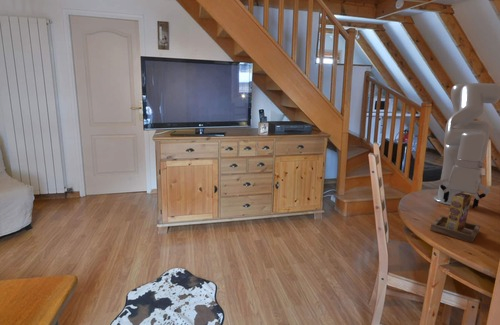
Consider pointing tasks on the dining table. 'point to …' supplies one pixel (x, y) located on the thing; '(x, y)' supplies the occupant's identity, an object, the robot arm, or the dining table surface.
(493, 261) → the dining table surface
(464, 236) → the tray
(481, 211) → the dining table surface
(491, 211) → the dining table surface
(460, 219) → the candy box
